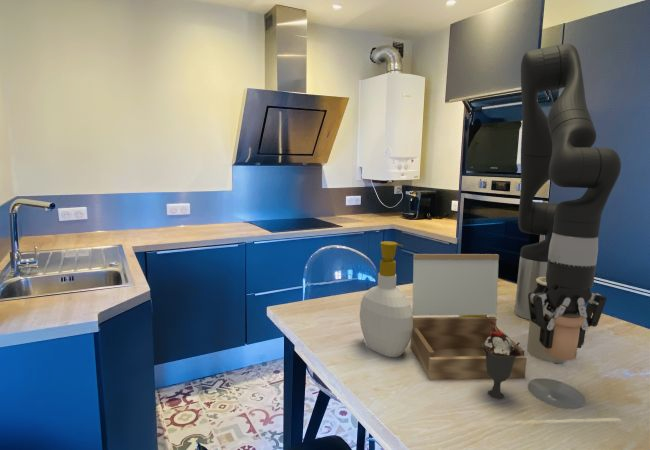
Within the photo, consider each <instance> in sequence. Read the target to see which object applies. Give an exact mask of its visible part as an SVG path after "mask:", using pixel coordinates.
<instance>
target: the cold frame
mask: <svg viewBox="0 0 650 450" xmlns="http://www.w3.org/2000/svg"><path fill="white" fill-rule="evenodd" d="M490 321H494V324H495V325H496V326H497V321H498V319H497V317H496V316H487V317H459V316H449V317H448V316H446V317H445V316H444V317H441V316H440V317H430V316H429V317H428V316H427V317H413V328H412V334H411V339H410V342H409V348H410V350H411V351H412V353H413V355H414V357H415V358H416V360H417V362H418V363H419V365H420V367H421V369H422V370H423V371H424V373H425V375H426V377H427V378H428V380H429V381H440V380H442V381H445V380H447V381H449V380H487V379H488V380H490V379H491V380H493V379H492V378H491V377H490V376H489V375H488V373H487V368H486V354H485V351H484V348H483V347H482V343H484V342H485V341H486V339H487V338H488V337H490V336H491V335H490V332H492V331H493V330H494V326H495V325H494V324H493V323H492V324H491V323H490ZM493 325H494V326H493ZM496 326H495V331H494V332H496V333H497V332H498V330H499V331H501V332H502V333H503V334H505V333H504V331H502V330H501V329H499V328H498V327H497V328H498V330H497V328H496ZM516 344H517V343H516V342H515V341H514V340H512V345H515V346H516ZM517 347H518V348H519V349H520V354H521V356H518V357H515V360H514V363H513V367H512V371H511V374H510V377H509V378H508V379H525V378H526V377H525V376H526V369H527V368H526V367H527V359H528V358H527V357H526V356H525V352H526V351H525V350H524V349H523V348H522V347H521V346H519V345H518V346H517Z"/></svg>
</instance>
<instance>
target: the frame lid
mask: <svg viewBox="0 0 650 450" xmlns="http://www.w3.org/2000/svg"><path fill="white" fill-rule="evenodd" d="M412 255H413V264H412V265H413V266H412V267H413V268H412V269H413V270H412V272H413V274H412V277H413V278H412V307H411V310H412V314H413V317H414V316H459V315H487V316H497V311H498V289H499V287H498V283H499V282H498V281H499V259H500V255H499V254H497V253H494V254H492V253H484V254H483V253H481V254H480V253H451V254H450V253H413V254H412Z"/></svg>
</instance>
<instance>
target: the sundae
mask: <svg viewBox="0 0 650 450" xmlns="http://www.w3.org/2000/svg"><path fill="white" fill-rule="evenodd" d="M490 323H491V324H492V323H493V324H494V321H490ZM494 325H495V324H494ZM494 325H493V326H494ZM495 326H496V328H497V330H498V329H499V327H498V326H497V324H496V325H495ZM495 326H494V330H493V331H492V332H490V335H491V336H490V337H488V338H487V339H486V341H485V342H484V343H482V347H483V348H484V351H485V354H486V368H487V373H488V375H489V376H490V377H491V378H492V379H491V380H493V386H492V389H491V390H488V391H487V395H488V396H489V397H490V398H492V399H495V400H503V399H504V398H505V394H504V393H502V392H501V385H502V383H503V382H505V381H507V380H508V379H510V378H509V377H510V374H511V371H512V367H513V363H514V360H515V357H518V356H521V354H520V349H519V348H518V347H517V346H519V345H520V341H518V342H517V343H516V346H515V345H512V341H513V340H512V339H511V337H509V336H508V335H507V334H506V333H504V332H503V331H502V330H501V331H502V332H503V333H504V334H503V333H502V332H501V331H499V330H500V329H499V330H498V332H497V333H496V332H494V331H495Z"/></svg>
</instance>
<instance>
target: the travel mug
mask: <svg viewBox="0 0 650 450" xmlns="http://www.w3.org/2000/svg"><path fill="white" fill-rule="evenodd" d="M536 282H537V288H536V289H535V290H534V292H533V293H535V294H536V293H541V292H543V291H544V289H545V288H546V285H547V283H546V277H539V278H537V279H536ZM544 303H545V304H544V305H543V309H544V307H545V305H546V303H547V300H546V299H545V300H544ZM540 329H541V327H539V326H538V325H537V324H535V323H533V322H532V321H531V319H530V320H529V327H528V335H527V336H528V338H527V343H526V344H527V346H526V351H527V353H528V354H529V355H530V356H532V357H534V358H536V359H538V360H541V361H546V362H549V363H553V364H561V363H565V361H566V360H562V359H558V358H555V357H552V356H550V355H548V354H547V353H546V352H545V350H544V349H545V347H544V346H543V345H542V344H541V343H540V341H539V337H540Z"/></svg>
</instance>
